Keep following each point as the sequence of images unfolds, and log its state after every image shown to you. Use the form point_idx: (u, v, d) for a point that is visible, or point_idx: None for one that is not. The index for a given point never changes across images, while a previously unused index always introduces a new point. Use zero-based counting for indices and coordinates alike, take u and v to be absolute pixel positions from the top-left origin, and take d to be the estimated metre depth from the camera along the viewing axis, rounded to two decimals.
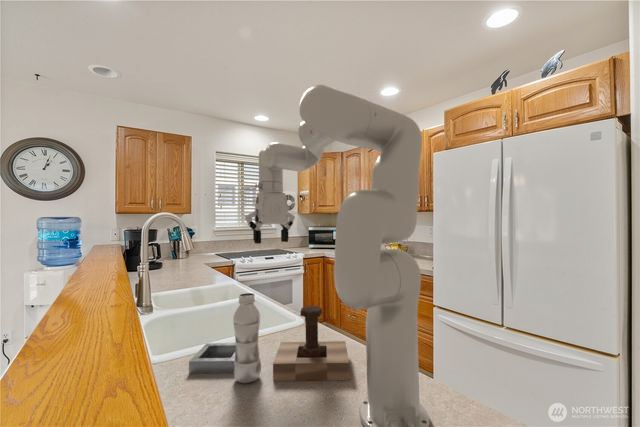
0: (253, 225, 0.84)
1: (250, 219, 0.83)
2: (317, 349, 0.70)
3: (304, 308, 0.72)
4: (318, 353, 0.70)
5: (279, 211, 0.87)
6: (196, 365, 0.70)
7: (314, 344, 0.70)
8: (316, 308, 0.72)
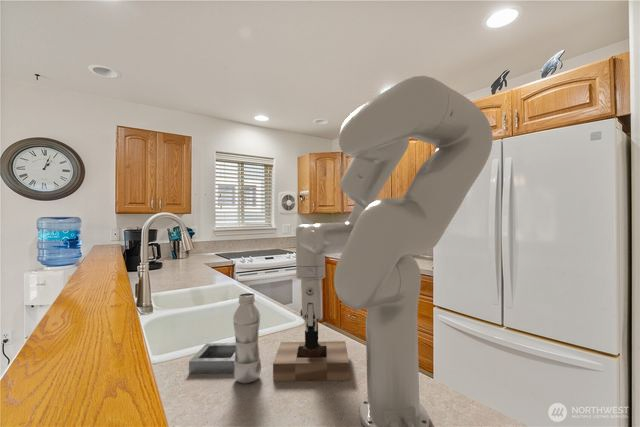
0: None
1: (313, 324, 0.67)
2: (317, 349, 0.70)
3: None
4: (318, 353, 0.70)
5: None
6: (196, 365, 0.70)
7: None
8: None
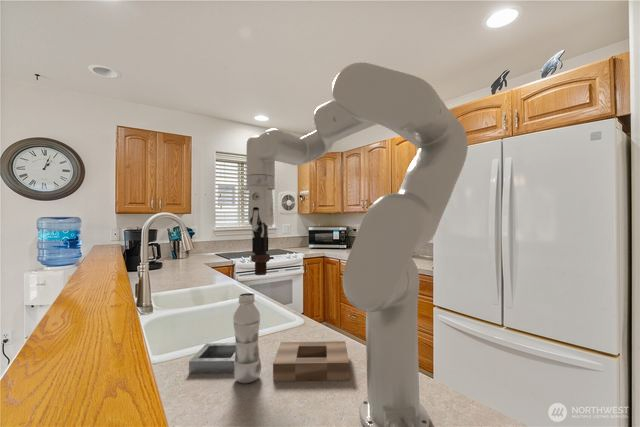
0: (260, 232, 0.71)
1: (257, 227, 0.69)
2: (264, 255, 0.73)
3: None
4: (265, 259, 0.73)
5: (271, 211, 0.76)
6: (196, 365, 0.70)
7: None
8: None
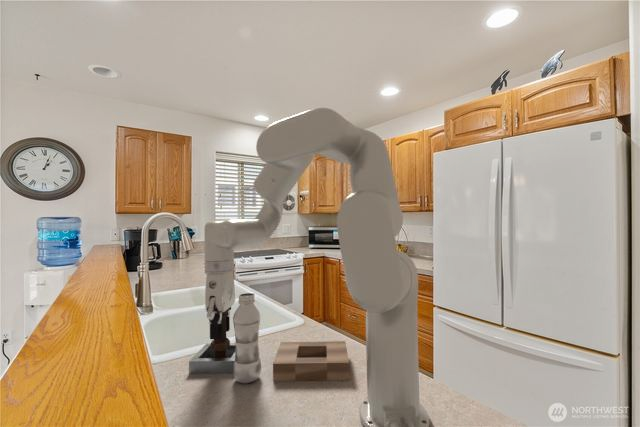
0: (216, 319, 0.71)
1: (213, 315, 0.69)
2: (223, 343, 0.73)
3: None
4: (224, 347, 0.73)
5: (231, 292, 0.77)
6: (196, 365, 0.70)
7: (220, 339, 0.74)
8: None
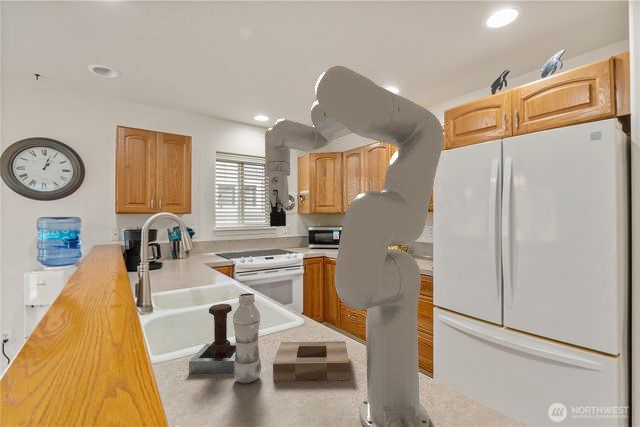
0: (277, 206, 0.78)
1: (276, 200, 0.77)
2: (223, 345, 0.73)
3: (214, 306, 0.75)
4: (224, 349, 0.73)
5: (287, 194, 0.86)
6: (196, 365, 0.70)
7: (221, 340, 0.74)
8: (225, 306, 0.76)
